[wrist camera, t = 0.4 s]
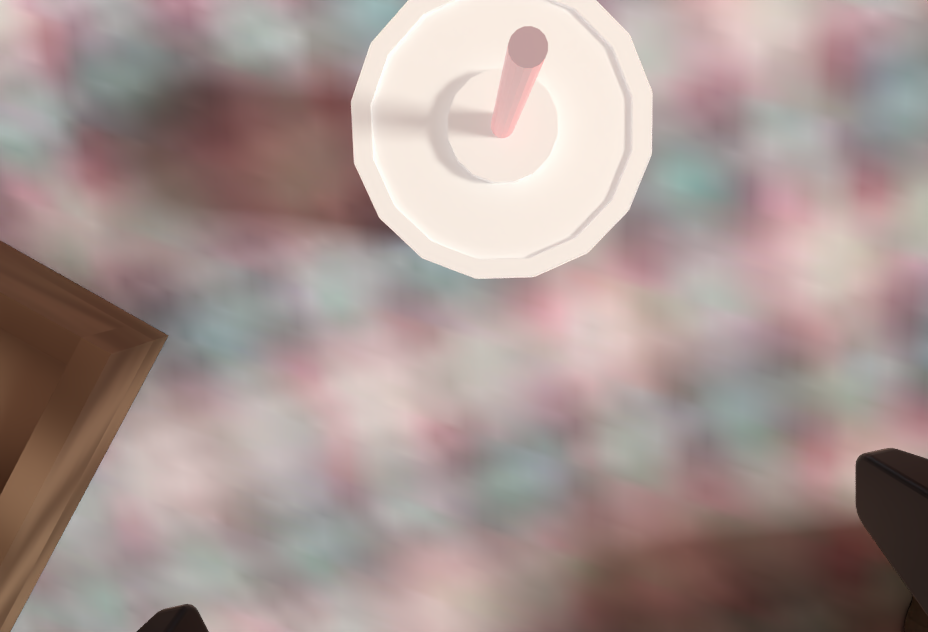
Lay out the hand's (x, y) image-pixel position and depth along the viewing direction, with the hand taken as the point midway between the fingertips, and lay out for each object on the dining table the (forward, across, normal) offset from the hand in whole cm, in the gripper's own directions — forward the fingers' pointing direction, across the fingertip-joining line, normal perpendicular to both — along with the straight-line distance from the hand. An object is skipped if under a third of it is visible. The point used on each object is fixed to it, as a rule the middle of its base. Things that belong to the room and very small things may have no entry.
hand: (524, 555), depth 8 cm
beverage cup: (+15, -1, -3) cm, 15 cm away
